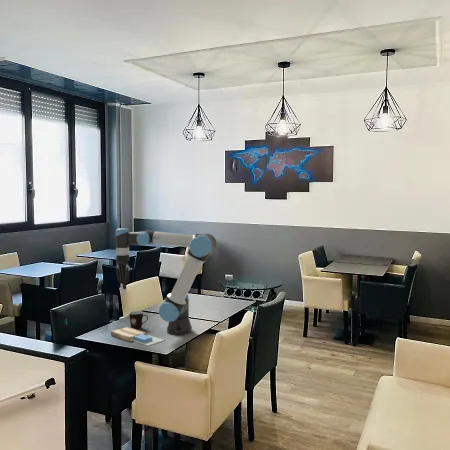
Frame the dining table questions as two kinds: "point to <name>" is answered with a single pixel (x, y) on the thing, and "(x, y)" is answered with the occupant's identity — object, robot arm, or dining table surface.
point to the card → (143, 338)
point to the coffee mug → (136, 319)
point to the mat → (154, 341)
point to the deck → (127, 333)
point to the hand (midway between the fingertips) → (123, 294)
